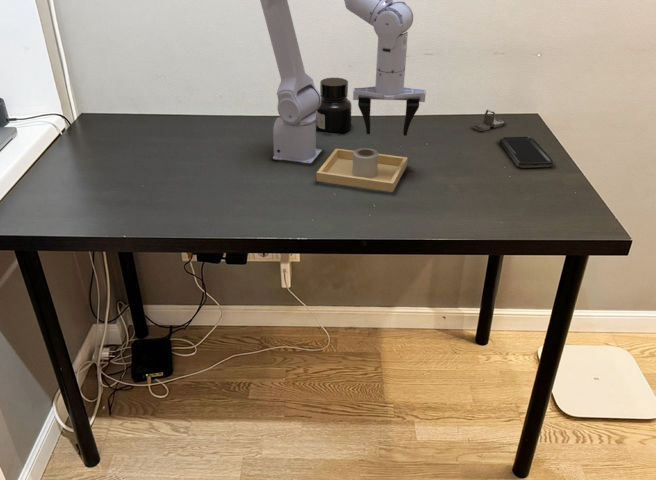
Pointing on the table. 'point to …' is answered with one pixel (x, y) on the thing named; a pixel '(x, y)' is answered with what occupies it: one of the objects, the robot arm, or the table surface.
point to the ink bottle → (334, 106)
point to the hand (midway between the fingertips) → (386, 133)
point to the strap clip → (489, 122)
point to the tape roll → (365, 163)
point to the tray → (341, 170)
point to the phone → (525, 152)
